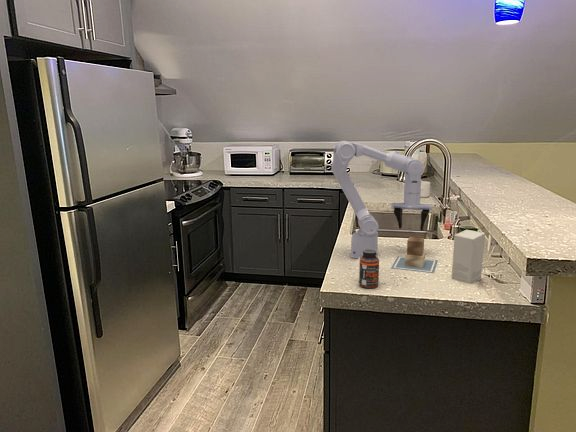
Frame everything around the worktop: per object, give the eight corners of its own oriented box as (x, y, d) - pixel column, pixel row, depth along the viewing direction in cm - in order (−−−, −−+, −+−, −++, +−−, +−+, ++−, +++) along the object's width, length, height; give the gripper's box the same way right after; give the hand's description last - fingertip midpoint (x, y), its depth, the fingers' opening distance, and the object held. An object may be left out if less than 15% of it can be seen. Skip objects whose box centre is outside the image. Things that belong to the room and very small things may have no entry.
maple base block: (404, 265, 153) (405, 254, 152) (407, 260, 159) (407, 249, 158) (422, 267, 151) (423, 256, 150) (424, 262, 156) (425, 251, 155)
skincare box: (462, 274, 146) (466, 228, 143) (483, 280, 142) (486, 232, 138) (450, 281, 141) (453, 234, 137) (470, 287, 136) (474, 238, 133)
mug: (407, 197, 280) (407, 182, 278) (413, 194, 288) (414, 180, 286) (425, 198, 273) (426, 184, 271) (431, 196, 281) (432, 181, 279)
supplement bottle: (366, 290, 136) (366, 254, 133) (355, 283, 141) (355, 249, 139) (382, 287, 138) (383, 252, 136) (371, 280, 143) (372, 246, 141)
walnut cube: (406, 254, 152) (407, 240, 151) (408, 250, 157) (409, 236, 156) (422, 256, 151) (422, 241, 150) (423, 251, 155) (424, 237, 154)
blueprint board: (390, 271, 152) (390, 268, 151) (397, 258, 164) (397, 255, 164) (433, 276, 146) (434, 272, 146) (437, 262, 159) (437, 259, 158)
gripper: (389, 193, 161) (388, 229, 164) (431, 195, 155) (430, 233, 158) (393, 190, 167) (392, 225, 170) (434, 192, 161) (432, 228, 164)
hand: (410, 228), depth 165 cm, fingers open, 7 cm apart
